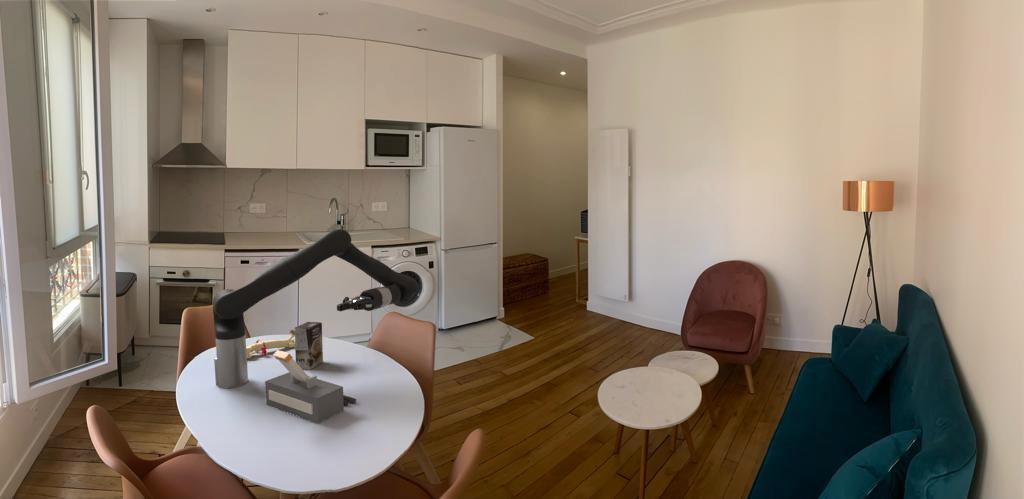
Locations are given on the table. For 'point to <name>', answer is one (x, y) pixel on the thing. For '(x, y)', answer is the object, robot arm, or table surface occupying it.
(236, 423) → the table surface
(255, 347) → the cat figure
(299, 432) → the table surface
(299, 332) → the coffee box
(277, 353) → the breaker lever
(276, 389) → the block
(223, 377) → the robot arm
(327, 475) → the table surface
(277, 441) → the table surface
